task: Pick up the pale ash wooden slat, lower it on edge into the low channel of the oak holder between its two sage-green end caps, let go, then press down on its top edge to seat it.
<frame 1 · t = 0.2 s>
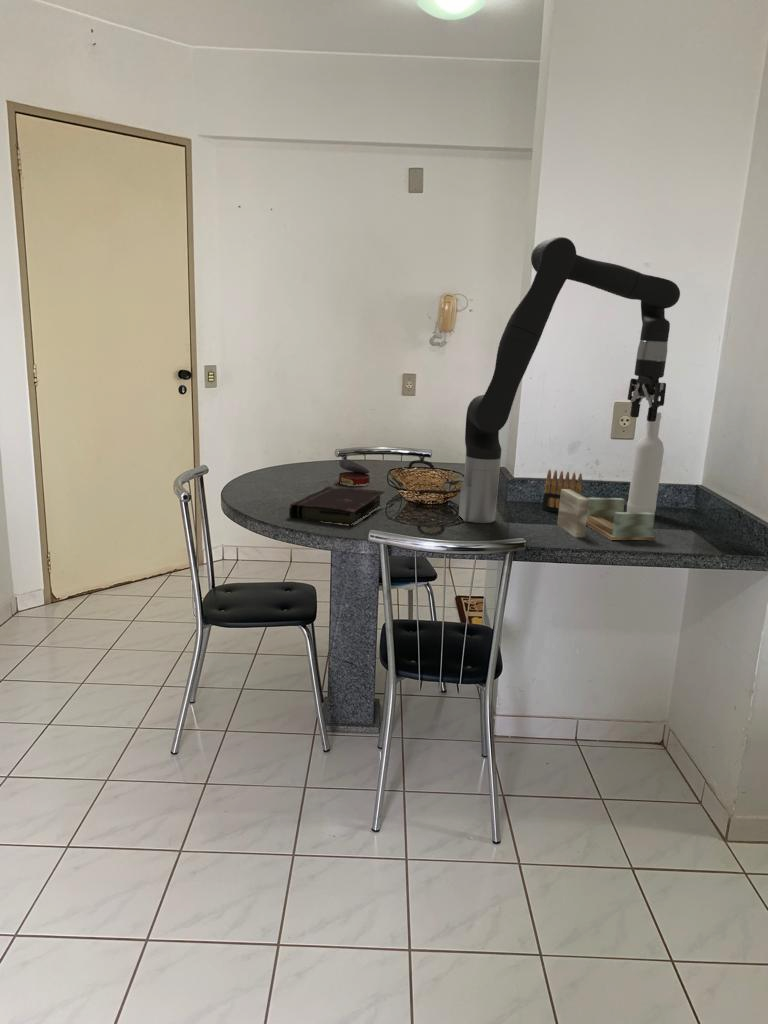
hand: (642, 419, 206), 29 cm above the table, tool pointing down, fingers open, 8 cm apart
bottle: (640, 514, 222), on the table
slat holder: (616, 531, 200), on the table
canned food: (353, 484, 242), on the table
ash slat: (570, 531, 198), on the table
ammunition clip: (560, 512, 219), on the table
diary: (339, 514, 204), on the table
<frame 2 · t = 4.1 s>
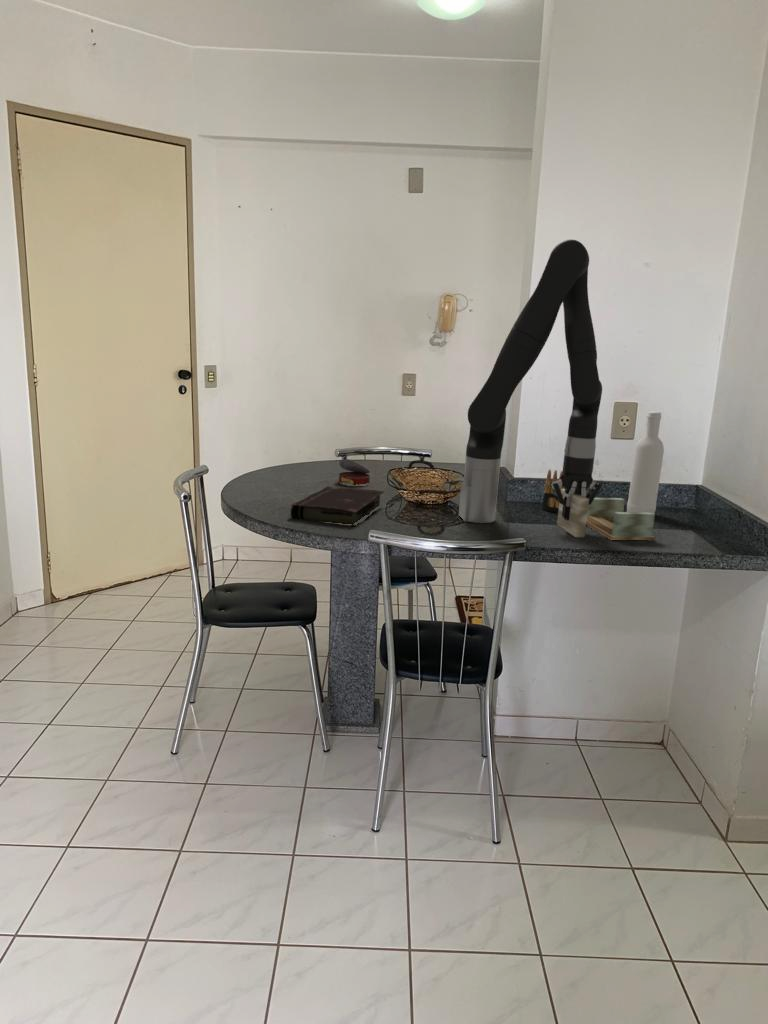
hand: (571, 519, 197), 3 cm above the table, tool pointing down, fingers closed on ash slat, 2 cm apart
ash slat: (570, 530, 198), on the table, touching gripper
everything else where it was.
when the fingers open (5 cm above the table, at t = 9.5 s): ash slat stays where it is, resting on slat holder.
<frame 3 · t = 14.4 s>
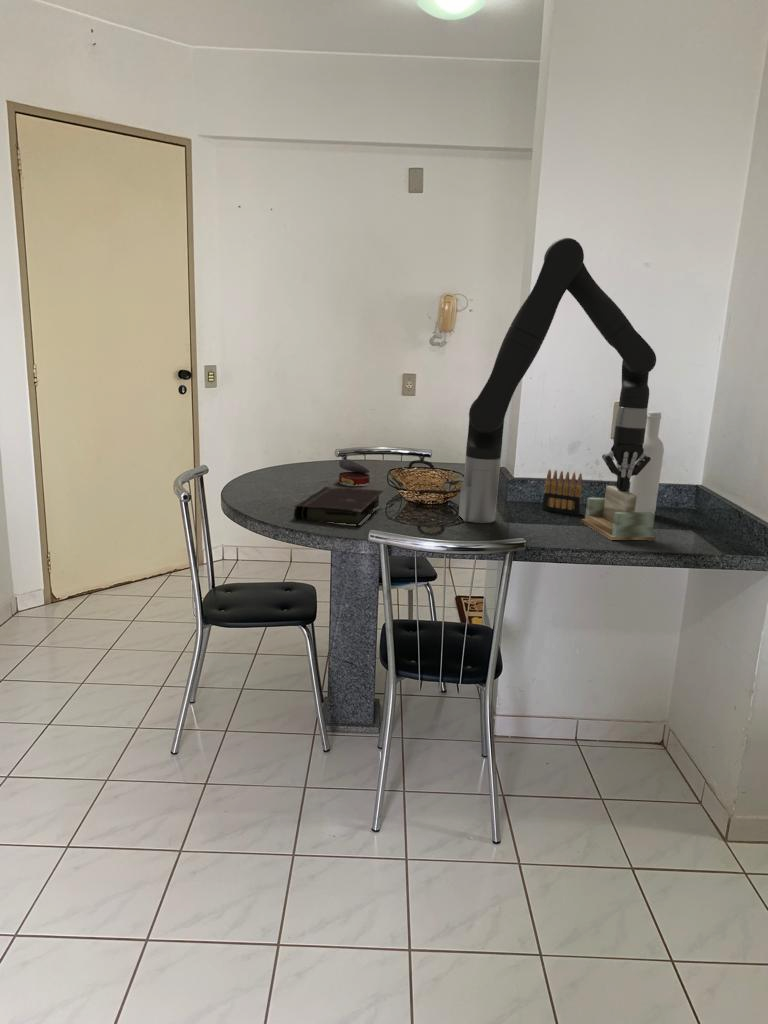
hand: (622, 490, 198), 11 cm above the table, tool pointing down, fingers closed
ash slat: (616, 527, 200), point 1 cm above the table, touching gripper, slat holder
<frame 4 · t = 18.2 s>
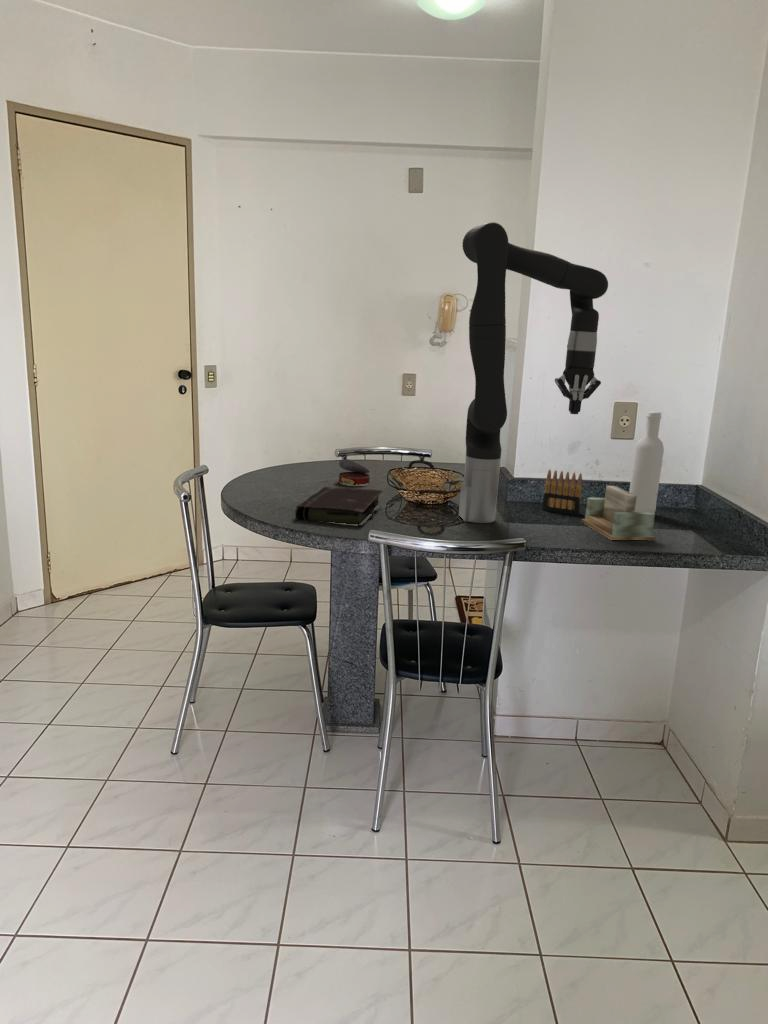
hand: (574, 413, 206), 29 cm above the table, tool pointing down, fingers closed
ash slat: (616, 527, 200), point 1 cm above the table, touching slat holder
at the end: ash slat 0.3 cm off-centre on the slat holder, point 1.0 cm above the slat holder's base; ash slat tilted 0°; the gripper is holding nothing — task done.
